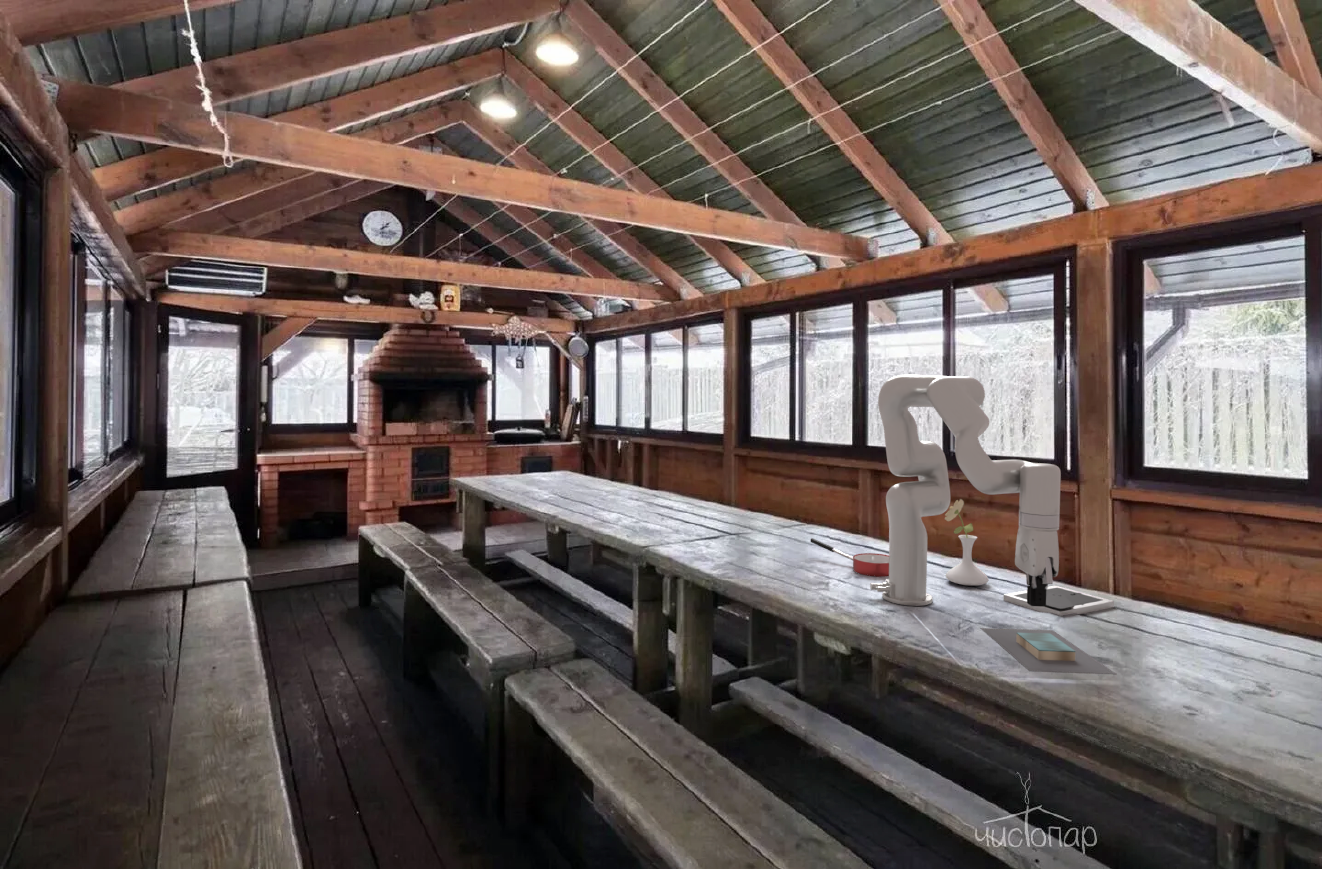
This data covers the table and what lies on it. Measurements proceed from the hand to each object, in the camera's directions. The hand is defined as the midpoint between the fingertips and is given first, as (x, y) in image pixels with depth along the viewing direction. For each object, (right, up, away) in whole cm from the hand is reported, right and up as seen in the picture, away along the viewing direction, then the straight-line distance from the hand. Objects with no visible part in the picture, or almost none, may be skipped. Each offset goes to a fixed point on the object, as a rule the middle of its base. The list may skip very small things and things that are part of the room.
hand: (1036, 604), depth 140 cm
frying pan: (-21, -6, +70) cm, 73 cm away
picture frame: (+23, -8, +30) cm, 39 cm away
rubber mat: (0, -9, -3) cm, 10 cm away
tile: (0, -8, +1) cm, 8 cm away
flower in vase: (+7, -7, +49) cm, 50 cm away
